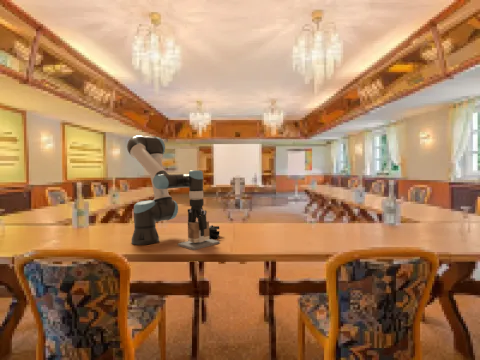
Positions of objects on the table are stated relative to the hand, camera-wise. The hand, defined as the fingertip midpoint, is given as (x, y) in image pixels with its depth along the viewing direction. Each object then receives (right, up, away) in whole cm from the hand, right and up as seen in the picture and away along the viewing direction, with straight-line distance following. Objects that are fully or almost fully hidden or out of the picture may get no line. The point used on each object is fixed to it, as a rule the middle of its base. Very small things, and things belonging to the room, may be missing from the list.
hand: (197, 240), depth 158 cm
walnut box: (0, +10, 0) cm, 10 cm away
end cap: (+7, -2, +17) cm, 19 cm away
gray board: (+1, -2, +1) cm, 2 cm away
